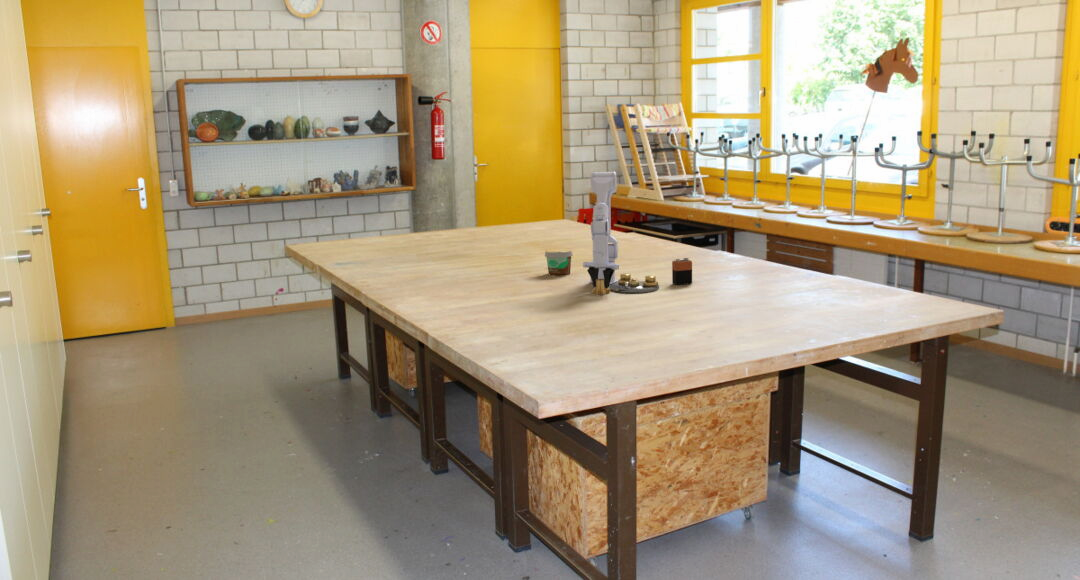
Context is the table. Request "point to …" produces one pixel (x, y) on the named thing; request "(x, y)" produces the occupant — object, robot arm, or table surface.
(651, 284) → the carrier
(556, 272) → the food container
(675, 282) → the battery
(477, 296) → the table surface
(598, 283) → the planet gear
